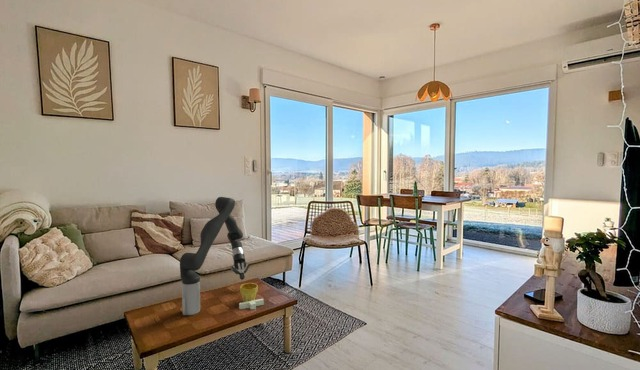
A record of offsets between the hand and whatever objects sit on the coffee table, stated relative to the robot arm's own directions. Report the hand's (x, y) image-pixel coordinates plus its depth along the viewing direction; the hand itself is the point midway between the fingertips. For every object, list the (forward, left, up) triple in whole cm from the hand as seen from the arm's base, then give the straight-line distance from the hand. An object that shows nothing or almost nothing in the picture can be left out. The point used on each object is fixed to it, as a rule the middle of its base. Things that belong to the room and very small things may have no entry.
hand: (242, 279), depth 200 cm
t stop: (0, -24, -9) cm, 25 cm away
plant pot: (0, -16, -9) cm, 18 cm away
